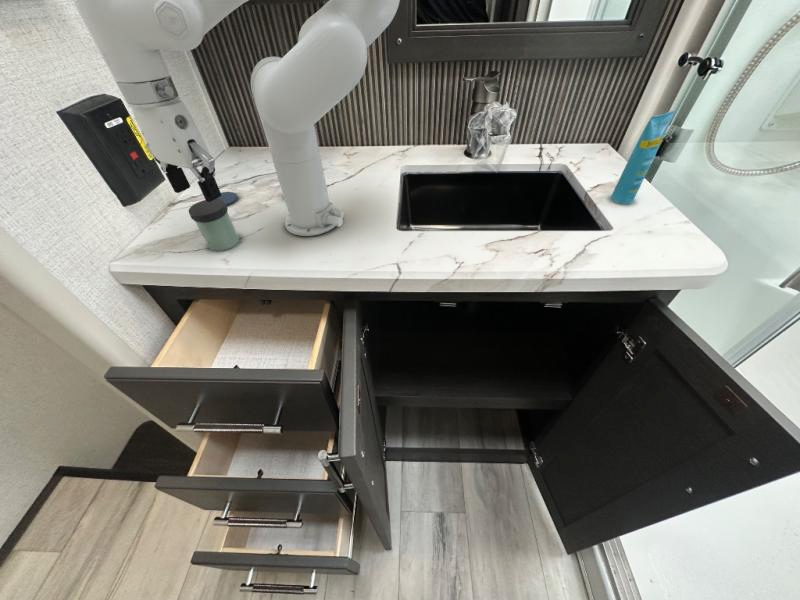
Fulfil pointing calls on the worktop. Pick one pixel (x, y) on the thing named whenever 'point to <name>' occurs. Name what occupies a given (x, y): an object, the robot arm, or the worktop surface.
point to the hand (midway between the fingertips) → (198, 194)
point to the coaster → (228, 197)
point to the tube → (641, 159)
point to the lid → (208, 210)
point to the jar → (219, 233)
